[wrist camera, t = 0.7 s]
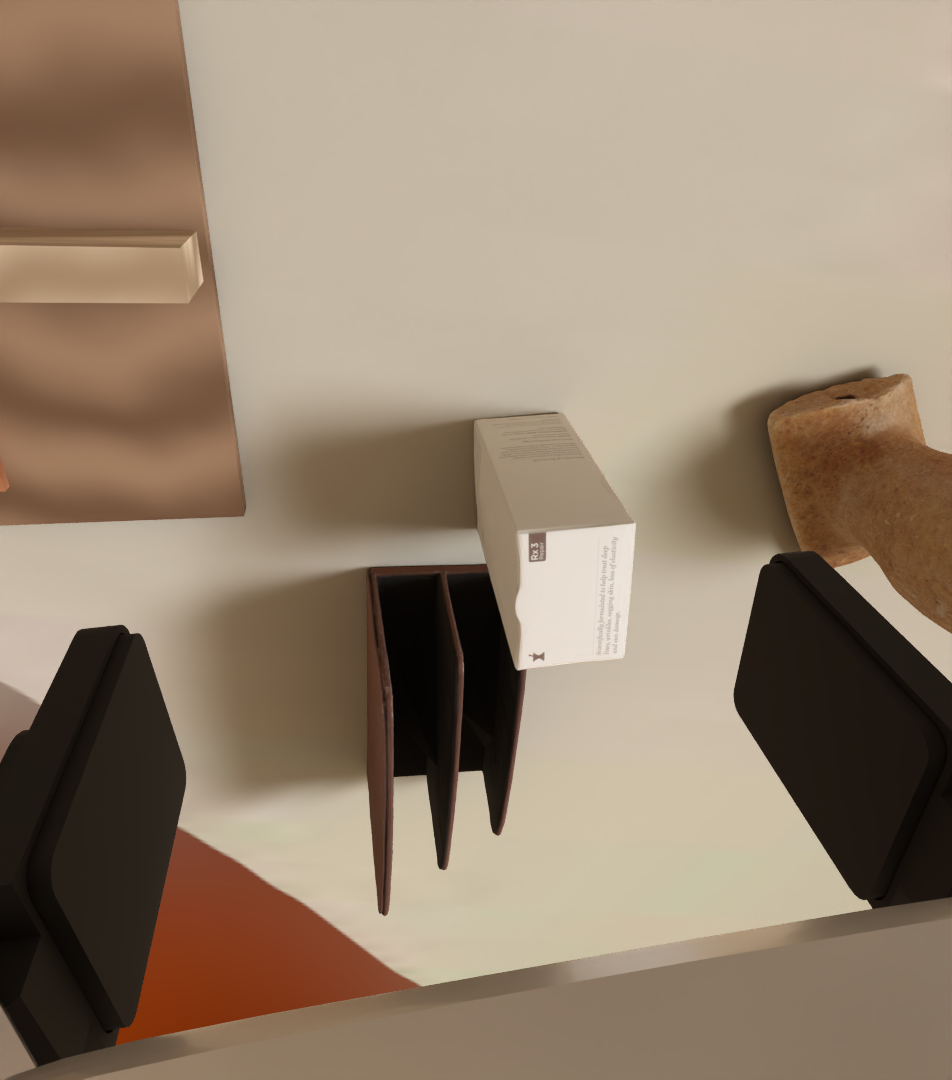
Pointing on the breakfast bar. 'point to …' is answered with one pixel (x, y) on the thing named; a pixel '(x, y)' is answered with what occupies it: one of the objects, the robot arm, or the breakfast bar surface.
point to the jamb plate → (108, 357)
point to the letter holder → (437, 697)
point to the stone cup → (869, 486)
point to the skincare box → (552, 541)
